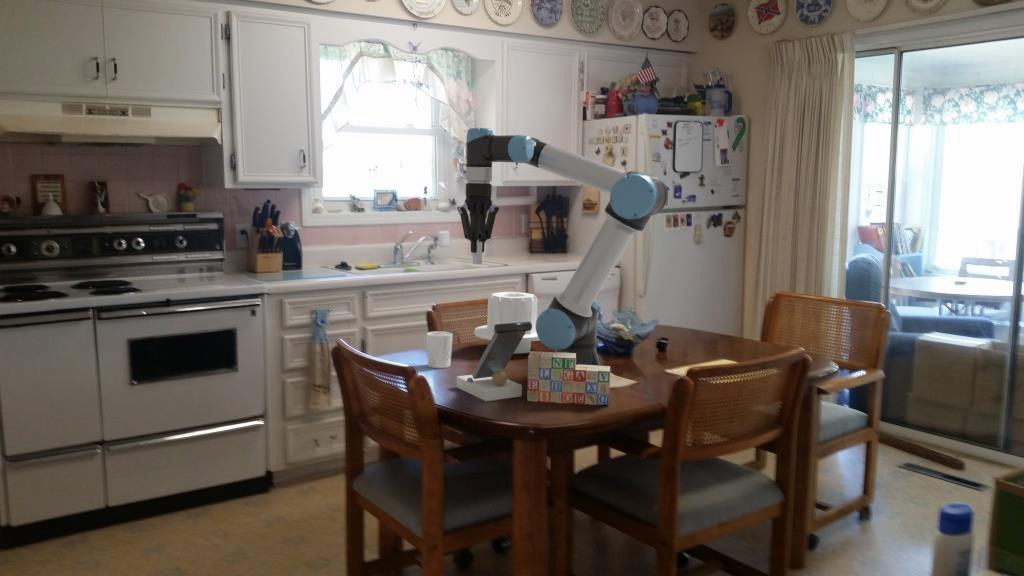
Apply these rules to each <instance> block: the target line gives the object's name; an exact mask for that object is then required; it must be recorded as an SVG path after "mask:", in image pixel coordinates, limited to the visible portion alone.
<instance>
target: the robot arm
mask: <svg viewBox="0 0 1024 576" xmlns="http://www.w3.org/2000/svg"><path fill="white" fill-rule="evenodd" d="M465 145H466V147H465V149H466V155H465V156H466V161H465V162H466V165H465V166H466V167H465V181H466V182H467V183H465V200H464V203H463V204H462V205H459V206H457V208H456V209H457V211H458V213H459V216H460V219H461V220H460V221H461V225H462V230H463V234H464V239H465V240H467V241H469V242H470V252H471V253H472V264H473V265H482V264H483V253H484V252H485V243H486V242H487V241H488V240H491V238H492V233H493V228H494V224H495V220H496V217H497V214H498V212H499V209H500V208H499V206H496V205H494V204H493V201H492V194H493V193H492V191H493V190H492V189H493V188H492V187H493V185H492V183H491V182H492V181H493V163H516V164H527V165H529V166H533V167H535V168H538V169H541V170H543V171H546V172H549V173H552V174H554V175H557V176H560V177H562V178H565V179H567V180H570V181H573V182H575V183H578V184H581V185H583V186H586V187H589V188H592V189H594V190H596V191H599V192H602V193H603V194H608V195H609V201H608V203H607V205H606V206H605V208H604V215H605V219H604V221H603V223H602V224H601V226H600V228H599V230H598V231H597V233H596V235H595V237H594V238H593V240H592V242H591V243H590V245H589V248H588V249H587V251H586V252H585V254H584V256H583V257H582V260H581V261H580V262H579V264H578V266H577V268H576V269H575V271H574V273H573V275H572V277H571V278H570V279H569V282H567V285H566V287H565V289H564V290H563V291H560V292H556V293H555V295H554V296H553V298H552V300H551V302H550V304H549V306H548V307H547V309H544V310H543V311H542V312H541V313H540V314H539V315H537V320H536V326H535V327H536V332H537V336H538V338H539V340H538V341H540V342H541V343H542V344H543V345H544V346H545V347H547V348H548V349H551V350H555V352H561V353H576V365H598V366H602V365H601V361H600V359H599V356H598V352H597V337H598V336H597V333H598V312H599V309H598V302H597V300H596V298H597V297H598V295H599V294H600V292H601V290H602V288H603V287H604V285H605V284H606V282H607V280H608V279H609V277H610V275H611V273H612V271H613V269H614V268H615V267H616V265H617V263H618V262H619V259H620V258H621V257H622V255H623V253H624V251H625V249H626V248H627V246H628V245H629V243H630V241H631V239H632V238H633V236H634V234H635V235H636V234H639V233H642V232H643V231H644V228H645V227H646V225H647V224H648V222H649V220H650V219H651V217H652V216H655V215H657V214H659V213H660V212H661V211H662V210H663V209H664V208H665V206H666V204H667V201H668V199H669V198H668V196H669V194H668V188H667V186H666V184H665V183H664V181H663V180H662V179H661V178H660V177H659V176H656V175H654V174H649V173H643V172H639V171H635V170H632V169H628V170H626V171H625V170H622V169H619V168H616V167H614V166H612V165H608V164H606V163H603V162H600V161H597V160H593V159H592V158H588V157H586V156H582V155H580V154H578V153H575V152H572V151H570V150H566V149H563V148H560V147H558V146H555V145H552V144H549V143H546V142H544V141H542V140H541V139H538V138H535V137H530V136H529V135H522V134H515V135H513V134H511V135H510V134H509V135H505V134H504V135H495V134H494V130H493V129H492V128H489V127H471V128H469V129H467V133H466V143H465ZM468 212H469V214H468Z"/></svg>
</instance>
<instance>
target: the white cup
mask: <svg viewBox="0 0 1024 576" xmlns="http://www.w3.org/2000/svg"><path fill="white" fill-rule="evenodd" d="M426 350H427V351H426V352H427V367H429V368H433V369H446V368H447V369H448V368H450V367H451V363H452V361H451V359H452V351H453V333H452V332H450V331H443V330H441V331H438V330H437V331H436V330H435V331H428V332H427V333H426Z"/></svg>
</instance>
